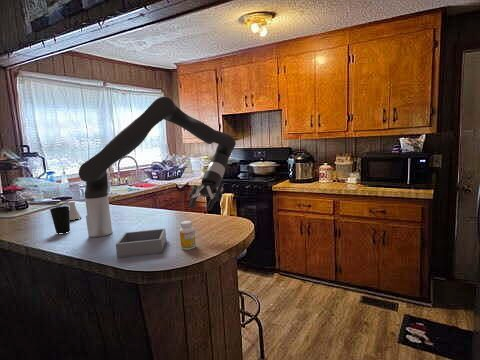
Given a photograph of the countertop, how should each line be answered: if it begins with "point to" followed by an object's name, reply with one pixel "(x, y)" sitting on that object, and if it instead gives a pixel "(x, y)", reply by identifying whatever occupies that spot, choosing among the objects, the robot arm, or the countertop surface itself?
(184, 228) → the supplement bottle
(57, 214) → the cup
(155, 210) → the countertop surface
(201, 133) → the robot arm
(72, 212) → the flask
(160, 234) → the tote
